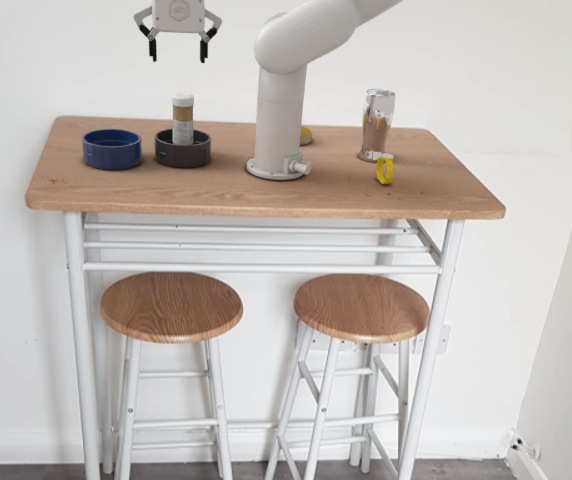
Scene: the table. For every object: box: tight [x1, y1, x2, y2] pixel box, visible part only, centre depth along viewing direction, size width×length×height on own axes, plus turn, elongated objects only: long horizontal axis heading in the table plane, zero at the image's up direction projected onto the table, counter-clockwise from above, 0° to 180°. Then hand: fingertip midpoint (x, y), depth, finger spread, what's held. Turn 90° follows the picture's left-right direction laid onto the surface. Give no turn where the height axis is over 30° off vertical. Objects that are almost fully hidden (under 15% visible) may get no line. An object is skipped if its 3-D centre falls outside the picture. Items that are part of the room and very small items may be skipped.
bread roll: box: [300, 125, 313, 146], centre depth 171 cm, size 8×9×4 cm
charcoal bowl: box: [153, 127, 212, 169], centre depth 154 cm, size 12×12×5 cm
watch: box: [375, 153, 395, 185], centre depth 151 cm, size 6×3×6 cm, turn 16°
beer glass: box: [358, 88, 397, 163], centre depth 162 cm, size 7×7×15 cm
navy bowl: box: [81, 128, 143, 171], centre depth 150 cm, size 12×12×5 cm
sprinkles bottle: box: [171, 92, 195, 145], centre depth 151 cm, size 5×5×14 cm
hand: (178, 61), depth 144 cm, fingers open, 9 cm apart
